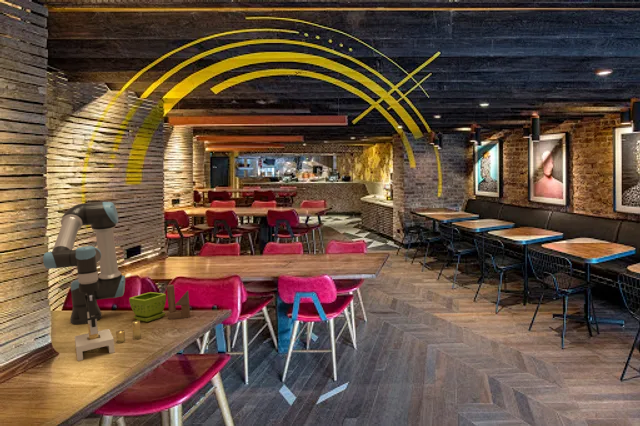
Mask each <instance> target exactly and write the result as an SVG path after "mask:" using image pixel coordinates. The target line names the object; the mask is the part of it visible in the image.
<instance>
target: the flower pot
mask: <svg viewBox="0 0 640 426" xmlns="http://www.w3.org/2000/svg"><path fill="white" fill-rule="evenodd" d="M166 294H167V293H162V292H161V293H160V292H156V291H155V292H152V291H150V292H146V293H142V294H138V295H134V296H132V297H129V299H128V301H129V305H130V308H131V309H132V312H133V314H134V315H133V319H135V320H139V321H140V322H147V323H148V322H152V321H155V320H157V319H161V318H163V317H164V316H165V315H166V312H164V309H165V306H166V302H167V295H166Z"/></svg>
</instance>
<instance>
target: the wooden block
mask: <svg viewBox="0 0 640 426" xmlns="http://www.w3.org/2000/svg"><path fill="white" fill-rule="evenodd" d="M166 292H167V293H166V294H167V295H166V296H167V303H168V304H167V305H168V312H167V317H168V320H178V319H189V318H190V317H191V309H190V298H189V297H190V295H189V290H187V291H186V292H185V293H184V294H183V295H182V296H181V298H180V299H179V300H178V301H177V302H176V297H175V296H176V294H175V284H168V285H167V286H166ZM177 306H179V307H181V308H180V309H181V310H180V309H176V308H177Z"/></svg>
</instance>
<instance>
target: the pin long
mask: <svg viewBox="0 0 640 426" xmlns="http://www.w3.org/2000/svg"><path fill="white" fill-rule="evenodd" d="M98 327H99V326H97V329H98V330H99V328H98ZM87 328H88V329H87V331H88V333H89V340H92V339H97V338H99V337H98V334H93V335H91V333H90V324H88V323H87ZM100 348H101V347H100ZM100 348H95V349H91V350H89V351H90V353H96V352H99V351H100Z"/></svg>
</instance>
